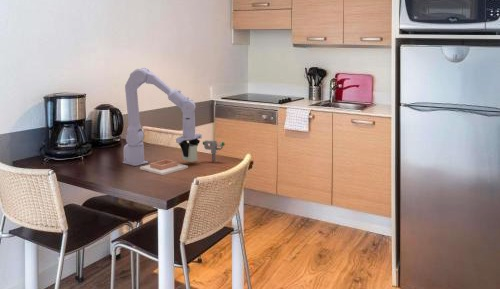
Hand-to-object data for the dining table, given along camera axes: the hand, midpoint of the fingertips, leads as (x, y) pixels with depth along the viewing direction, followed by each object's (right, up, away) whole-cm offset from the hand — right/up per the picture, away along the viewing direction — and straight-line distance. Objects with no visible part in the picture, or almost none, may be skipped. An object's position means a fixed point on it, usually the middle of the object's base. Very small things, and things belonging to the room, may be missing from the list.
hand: (189, 155), depth 210 cm
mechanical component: (+11, -3, +5) cm, 12 cm away
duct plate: (-10, -6, -7) cm, 14 cm away
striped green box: (0, -2, 0) cm, 2 cm away
